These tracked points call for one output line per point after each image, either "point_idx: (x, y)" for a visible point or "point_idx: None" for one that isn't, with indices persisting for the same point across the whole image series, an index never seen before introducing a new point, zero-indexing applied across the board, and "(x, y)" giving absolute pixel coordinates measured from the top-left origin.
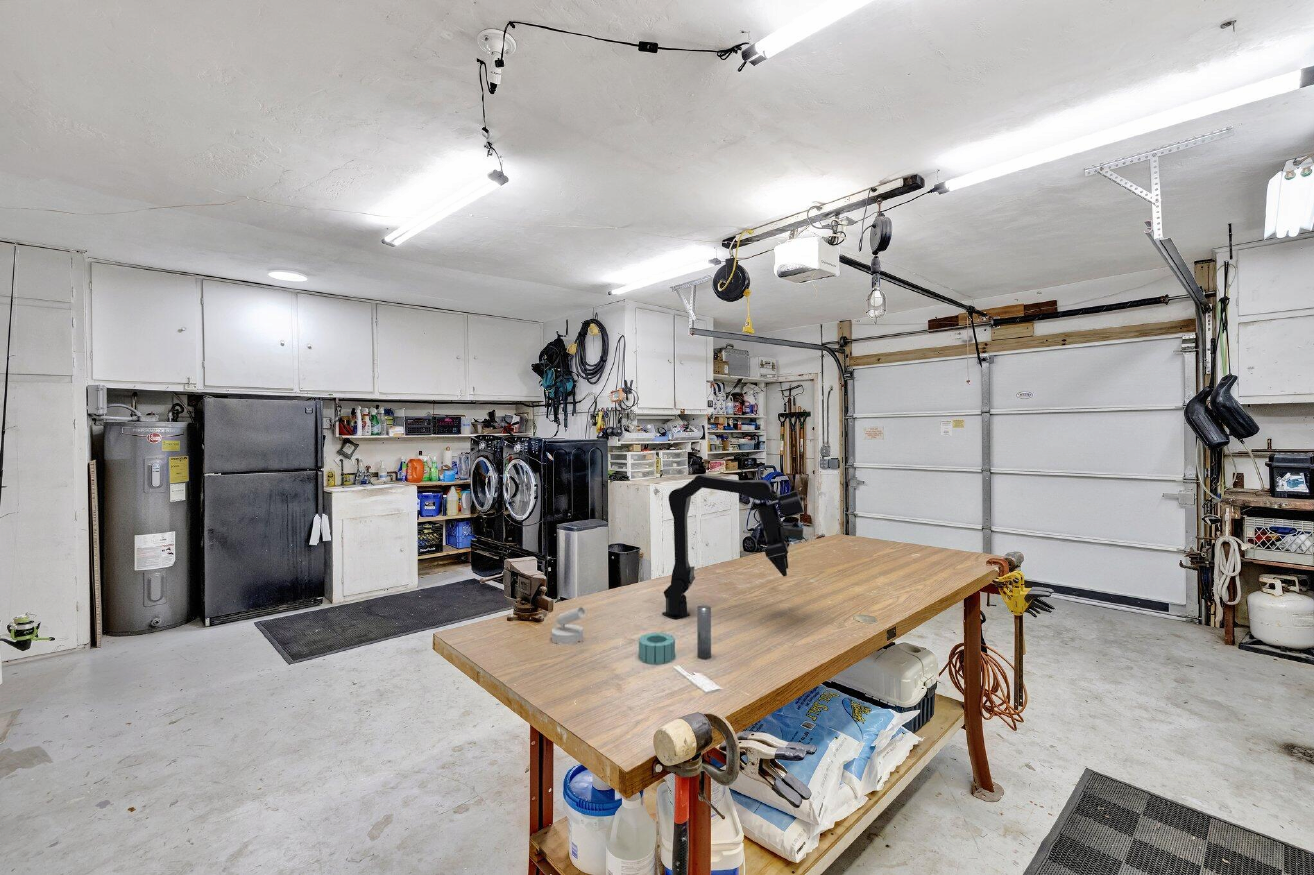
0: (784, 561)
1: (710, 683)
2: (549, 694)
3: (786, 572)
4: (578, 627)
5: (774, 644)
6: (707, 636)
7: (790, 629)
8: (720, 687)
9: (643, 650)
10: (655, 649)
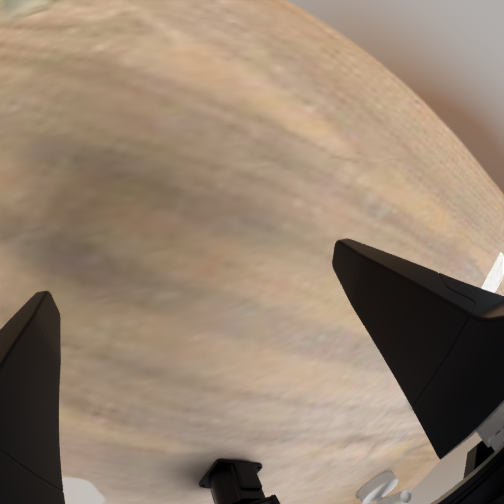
0: (477, 292)
1: (496, 273)
2: None
3: (369, 246)
4: (373, 492)
5: (362, 211)
6: None
7: (222, 183)
8: (498, 257)
9: None
10: None
